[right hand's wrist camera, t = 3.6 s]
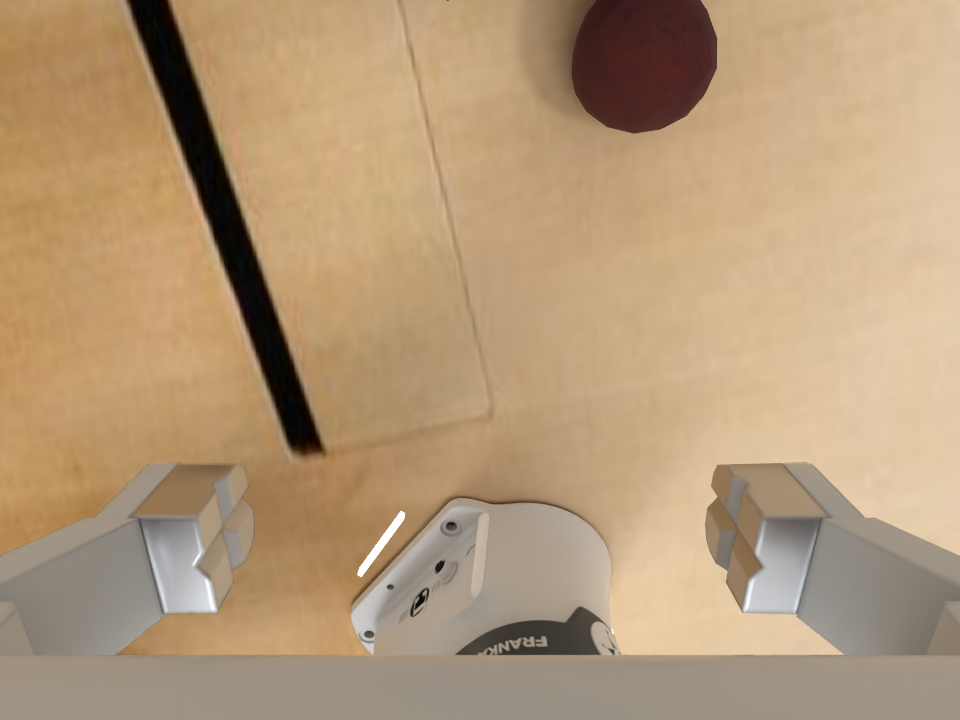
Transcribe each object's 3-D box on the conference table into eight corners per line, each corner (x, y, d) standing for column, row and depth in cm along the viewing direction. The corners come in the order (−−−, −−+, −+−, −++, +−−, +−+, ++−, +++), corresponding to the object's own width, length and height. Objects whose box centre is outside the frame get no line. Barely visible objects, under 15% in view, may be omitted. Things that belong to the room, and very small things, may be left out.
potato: (639, -41, 33) (678, -81, 26) (714, 76, 35) (768, 65, 29) (536, 56, 35) (550, 41, 28) (614, 161, 37) (643, 169, 30)
